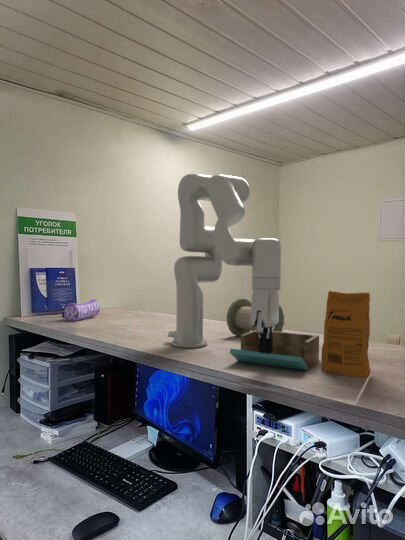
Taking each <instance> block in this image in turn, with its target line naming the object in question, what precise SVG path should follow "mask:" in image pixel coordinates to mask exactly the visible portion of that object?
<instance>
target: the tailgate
mask: <svg viewBox="0 0 405 540" xmlns="http://www.w3.org/2000/svg"><path fill="white" fill-rule="evenodd" d="M229 354H230V355H231V356H232V357H234V359H236V361H238V362H244V363H251V364H258V365H265V366H272V367H278V368H279V367H280V368H288V369H293V370H301V371H308V370H309V369H308V366H307V365H306V363H305V362H304V360H303V359H302V357H295V356H286V355H278V354H267V353H260V352H254V351H246V350H241V349H237V348H230V350H229Z"/></svg>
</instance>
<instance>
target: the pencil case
mask: <svg viewBox="0 0 405 540" xmlns="http://www.w3.org/2000/svg"><path fill="white" fill-rule="evenodd" d="M99 314H100V304H99V303H98V301H97V299H90V300H89V301H88V302H85V303H75V302H73V303H72V302H70V303H69V304H68V305H67V306H66V307H64V310H63V316H64V319H65V320H66V321H68V322H77V321H82V320H85V319H89V318H93V317H96V316H98V315H99Z"/></svg>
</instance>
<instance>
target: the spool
mask: <svg viewBox="0 0 405 540" xmlns="http://www.w3.org/2000/svg"><path fill="white" fill-rule="evenodd" d="M251 302H252V301H250V300H248V299H246V298H237V299H235V300H234V301H232V302H231V304H230V305H229V307H228V309H227V313H226V325H227V328H228V330H229V332H230V333H231V334H232V335H234V336H236V337H241V335H243V334H245V333H248V332H251V331H254V330H257V326H256V327H252V326H251V325H250V319H251ZM284 325H285V316H284V310H283V308H282V307H281V305H280V304H279V322H278V324H276V325H275V328H274V329H273V331H276V332H283V329H284Z"/></svg>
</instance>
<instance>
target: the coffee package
mask: <svg viewBox="0 0 405 540" xmlns="http://www.w3.org/2000/svg"><path fill="white" fill-rule="evenodd" d="M370 302H371V294H370V292H350V293H349V292H348V293H346V292H340V291H332V290H328V293H327V299H326V311H325V319H324V322H323V323H324V326H323V344H322V347H321V371H322V372H325V373H329V374H334V375H335V374H336V375H341V376H347V377H355V378H366V377H368V376H369V375H370V373H371V366H370V360H369V356H368V355H369V354H368V351H369V345H370V344H369V341H370V332H371V326H370V325H371V322H370V321H371V319H370V309H371V308H370V307H371V306H370Z"/></svg>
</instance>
